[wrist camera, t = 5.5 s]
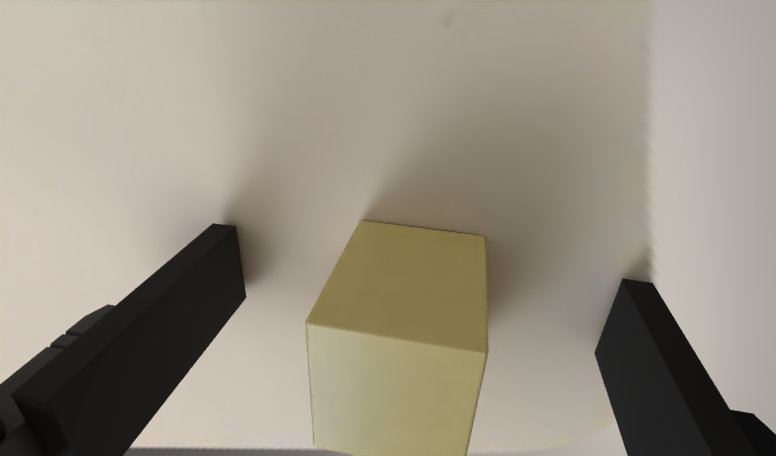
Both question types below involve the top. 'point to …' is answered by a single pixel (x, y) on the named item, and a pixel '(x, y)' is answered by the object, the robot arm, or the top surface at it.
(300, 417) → the top surface
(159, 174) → the top surface
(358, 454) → the butter
